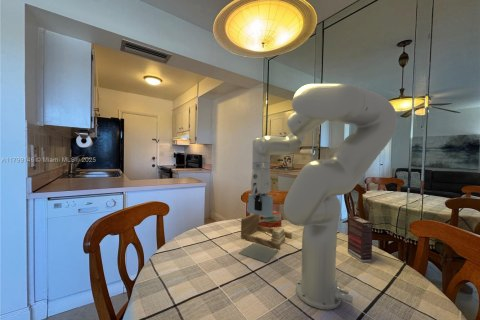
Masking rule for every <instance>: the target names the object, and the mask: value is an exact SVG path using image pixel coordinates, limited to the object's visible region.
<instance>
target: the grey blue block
mask: <svg viewBox="0 0 480 320" xmlns="http://www.w3.org/2000/svg"><path fill="white" fill-rule="evenodd" d="M251 194H252V193H249V194H248V200H247V201H248V205H247V206H248V210H247V212H248V213H249V214H258V215H263V216H271V215H273V211H274V209H273V208H274V203H273V202H274V195H268V194H267V195H263V194H262V195H261V201H262V210H261V211H258V210H255V209H254V204H255V201H254V198H253V196H252V195H251ZM258 197H259V195H258Z"/></svg>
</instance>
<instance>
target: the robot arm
mask: <svg viewBox="0 0 480 320" xmlns="http://www.w3.org/2000/svg"><path fill="white" fill-rule="evenodd" d="M291 101H292V102H291V107H292V110H293V111H294V112H292V113H291V114H290V115H289V116H288V118H287V121H286V124H287V128H288V130H289V131H290V133H289V134H287V135H286V136H278V135H277V136H276V135H264V136H261V137H257V138H254V139H253V140H252V159H251V160H252V161H251V162H252V164H251V165H252V167H251V168H252V173H251V182H250V183H251V184H250V190H251V193H250V194H251V195H252V196H253V198H254V201H255V204H254V209H255V210H258V211H261V210H262V201H261V195H268V194H269V193H270V192H271V191H272V179H271V169H270V168H271V165H270V164H271V156H287V155H289V154H291V153H293V152H295V151H296V150H298V149H299V148H300V147H301V146H302V145H303V143H304V142H305V139H306V135H308V134H310V133H311V132H312V131H314V130H315V129H317V128H318V127H320V126H321V125H322V124H324V123H325V122H334V123H339V124H345V125H348V126H349V125H350V126H355V129H354V130H353V132H351V133H350V134H348V135H347V136H346V137H345V138H344V140H343V141H342V142H341V143H340V145H339V147H338V148H337V149H336V151H335V152H334V154H333V155H332V156H331V157H330V158H329V159H315V160H311V161H310V162H308V163H306V164H305V165H304V166H303V167H302V168H301V170H300V171H299V173H298V174H297V176H296V178H295V180H294V181H293V184H292V185H291V187H290V188H289V190H288V192H287V194H286V196H285V198H284V202H283V208H282V209H283V215H284V217H285V219H286V220H287V221H288V222H289V223H290V224H291V225H293V226H297V227H303V229H302V236H301V238H302V239H301V241H302V242H301V277H300V278H301V279H299V280H298V281H297V282H296V285H295V292H296V294H297V296H298V297H299V299H300V300H302V301H303V302H304V303H305V304H307V305H309V306H311V307H313V308H316V309H319V310H333V309H337V308H338V307H339V306H340V305H341V302H342V301H344V302H346V303H348V304H351V305H353V302H354V301H353V300H354V298H353V297H354V296H353V295H351V294H349V293H350V291H349V290H348V289H345V288H342V287H341V286H339V285H338V283H339V281H338V280H337V279H336V273H337V272H336V271H337V270H336V268H337V245H338V244H337V242H338V241H337V240H338V239H337V238H338V228H339V222H340V219H341V213H342V212H341V211H342V207H341V206H342V205H341V202H340V199H339V197H338V196H342V195H346V194H349V193H350V192H352V191H353V190H354V188H355V187H356V186H357V185H358V184H359V182H360V181H361V179H362V178H363V177H364V175H365V174H366V173H367V172H368V171H369V169H370V168H371V166H372V165H373V163H374V162H375V160H376V159H377V158H378V157H379V155H380V154H381V153H382V151H383V150H384V149H385V148H386V146H387V145H389V142H390V141H391V140H392V138H393V136H394V134H395V132H396V130H397V126H398V116H397V112H396V109H395V107H394V105H393V104H392V103H391V102H390V101H389V100H388V99H387V98H386V97H384V96H383V95H381V94H378V93H377V92H374V91H371V90H368V89H364V88H363V87H359V86H357V85H356V86H355V85H353V84H349V83H309V84H305V85H302V86H301V87H300V88H299V89H297V91H296V92H295V93H294V96H293V98H292V100H291ZM258 195H259V197H258Z"/></svg>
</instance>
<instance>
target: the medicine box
mask: <svg viewBox="0 0 480 320" xmlns="http://www.w3.org/2000/svg"><path fill="white" fill-rule="evenodd" d="M259 226H263V227H267V228H272V229H274V228H278V227H279V228H282V214H281V213H280V212H278V211H276V210H273V215H271V216H263V215H259ZM273 227H274V228H273Z"/></svg>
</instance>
